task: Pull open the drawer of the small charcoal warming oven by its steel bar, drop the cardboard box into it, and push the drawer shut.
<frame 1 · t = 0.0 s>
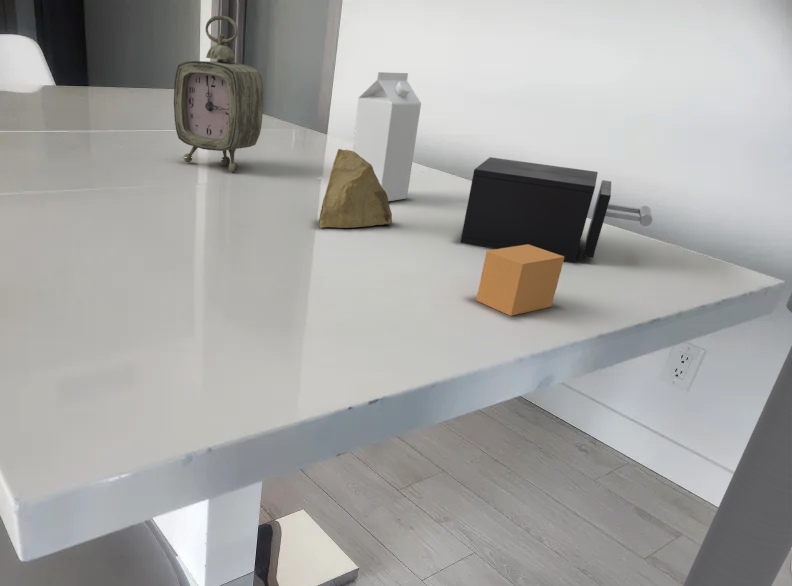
drawer: (570, 213, 89), point 5 cm above the table, slide at 0.8 cm
rock: (355, 226, 95), on the table
tabletop clock: (219, 167, 126), on the table
cardboard box: (513, 303, 70), on the table
warming oven: (521, 241, 93), on the table
milk carton: (377, 198, 112), on the table
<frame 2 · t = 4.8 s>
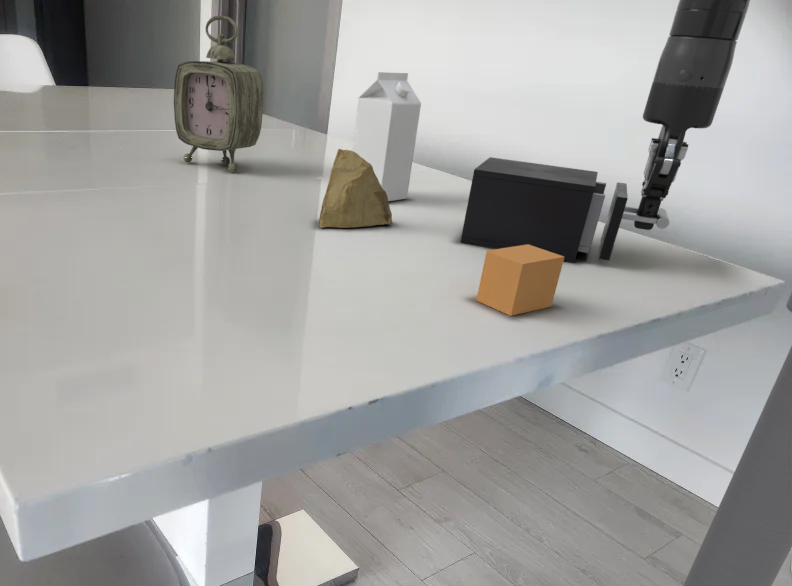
hand: (642, 227, 87), 4 cm above the table, tool pointing down, fingers closed
drawer: (585, 215, 89), point 5 cm above the table, slide at 2.7 cm, touching gripper
everything else where it was.
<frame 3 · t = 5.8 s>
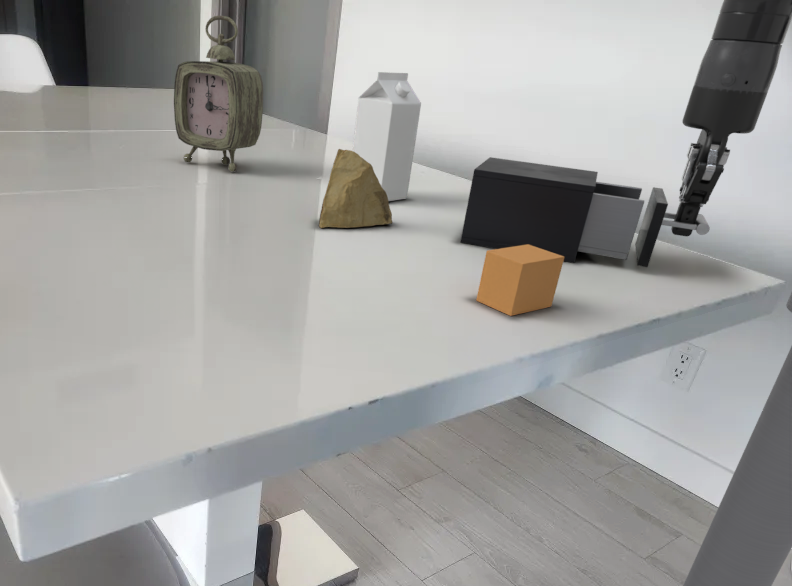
hand: (680, 234, 85), 4 cm above the table, tool pointing down, fingers closed
drawer: (621, 221, 87), point 5 cm above the table, slide at 7.1 cm, touching gripper
everything else where it was.
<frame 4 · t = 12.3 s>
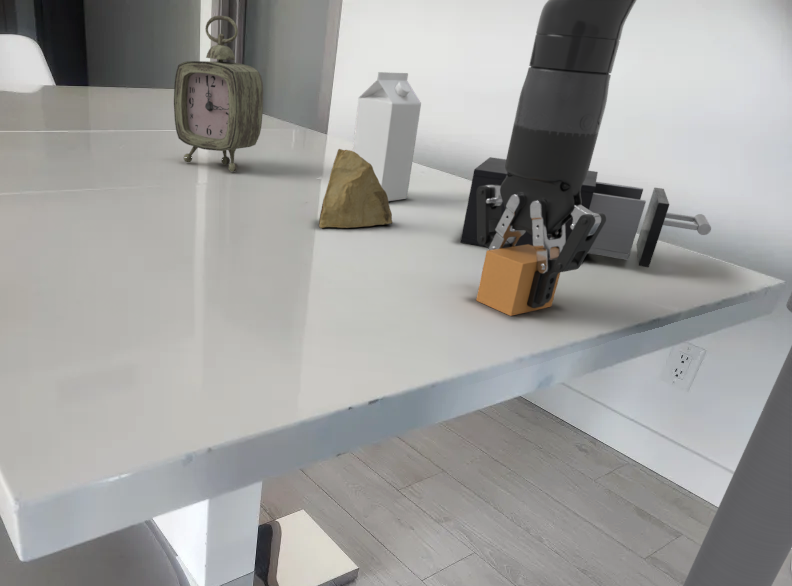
hand: (515, 296, 70), 1 cm above the table, tool pointing down, fingers closed on cardboard box, 4 cm apart
drawer: (623, 221, 87), point 5 cm above the table, slide at 7.3 cm
cardboard box: (513, 303, 70), on the table, touching gripper
everything else where it was.
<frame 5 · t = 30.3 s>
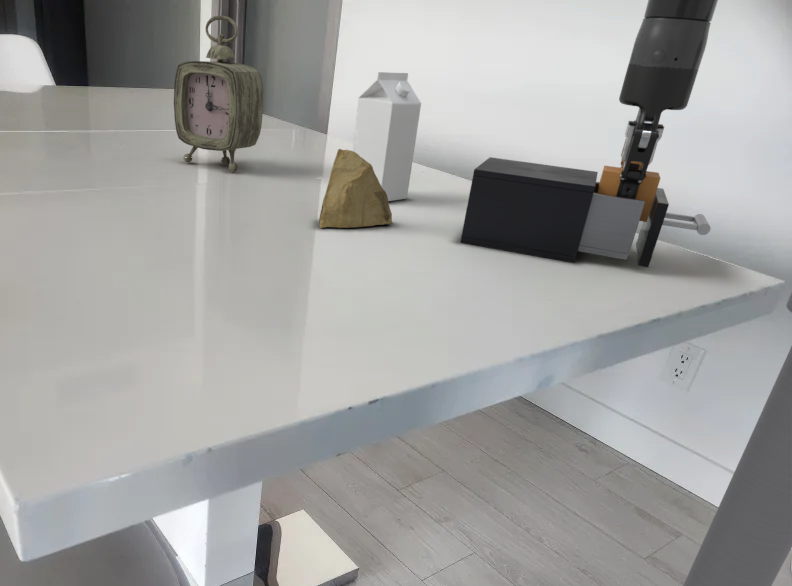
hand: (621, 208, 87), 6 cm above the table, tool pointing down, fingers closed on cardboard box, 4 cm apart
cardboard box: (618, 214, 87), point 6 cm above the table, touching gripper
everything else where it was.
when the fingers open (10 cm above the table, at t = 36.4 s): cardboard box drops 7 cm, resting on drawer.
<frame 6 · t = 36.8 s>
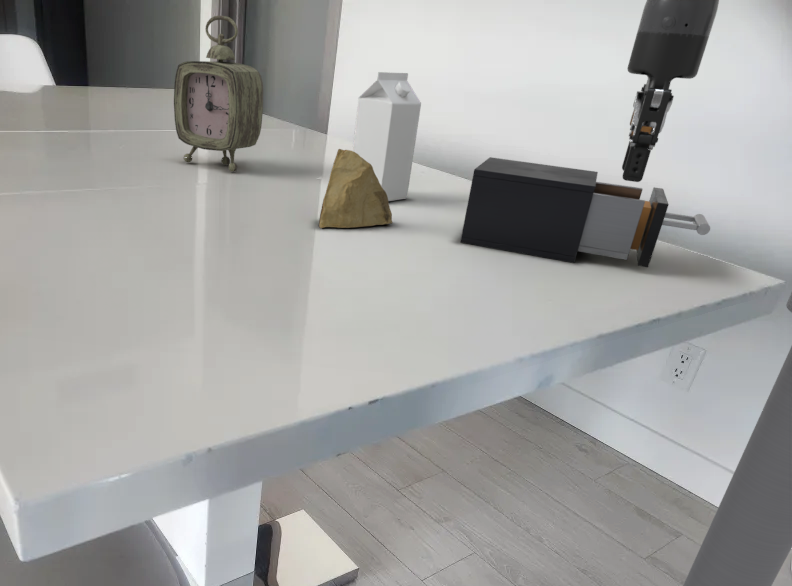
hand: (630, 175, 85), 10 cm above the table, tool pointing down, fingers open, 8 cm apart
drawer: (622, 221, 87), point 5 cm above the table, slide at 7.2 cm, touching cardboard box
cardboard box: (610, 241, 89), point 2 cm above the table, touching drawer
everything else where it was.
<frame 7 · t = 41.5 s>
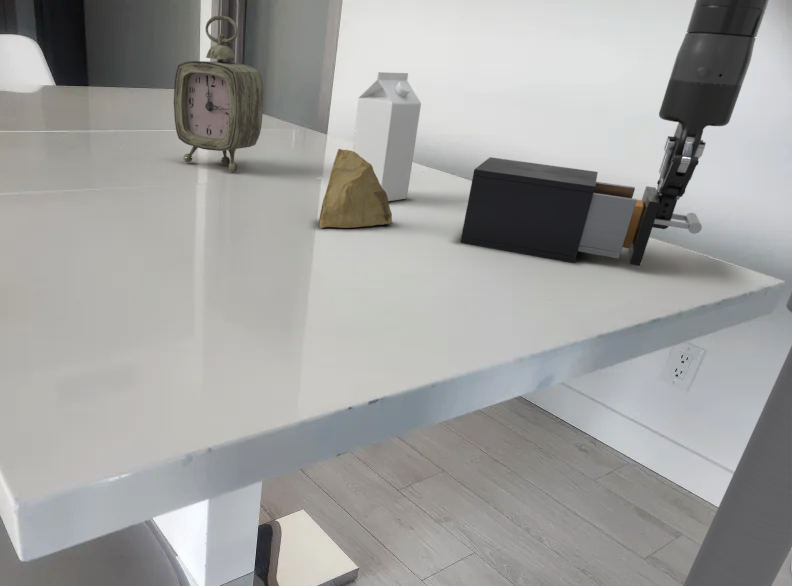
hand: (657, 226, 86), 5 cm above the table, tool pointing down, fingers closed
drawer: (614, 220, 87), point 5 cm above the table, slide at 6.3 cm, touching cardboard box, gripper
everything else where it was.
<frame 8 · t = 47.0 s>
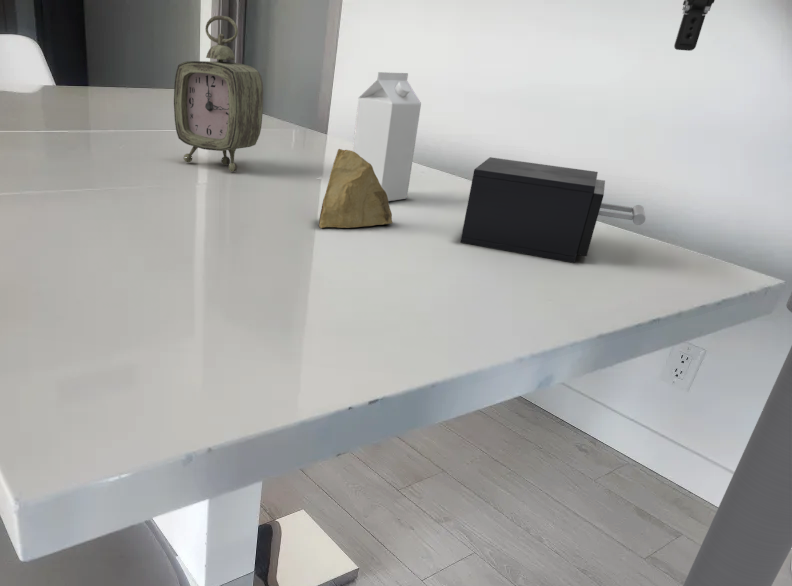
hand: (683, 49, 80), 25 cm above the table, tool pointing down, fingers closed
drawer: (564, 212, 90), point 5 cm above the table, slide at 0.0 cm, touching cardboard box
cardboard box: (554, 232, 91), point 2 cm above the table, touching drawer
everything else where it was.
at the end: drawer pulled out 7.3 cm at the most during the clip, back to where it started at the end; cardboard box inside the target area in the warming oven (2.7 cm from its centre), point 2.0 cm above the warming oven's base; drawer slide at 0.0 cm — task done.
